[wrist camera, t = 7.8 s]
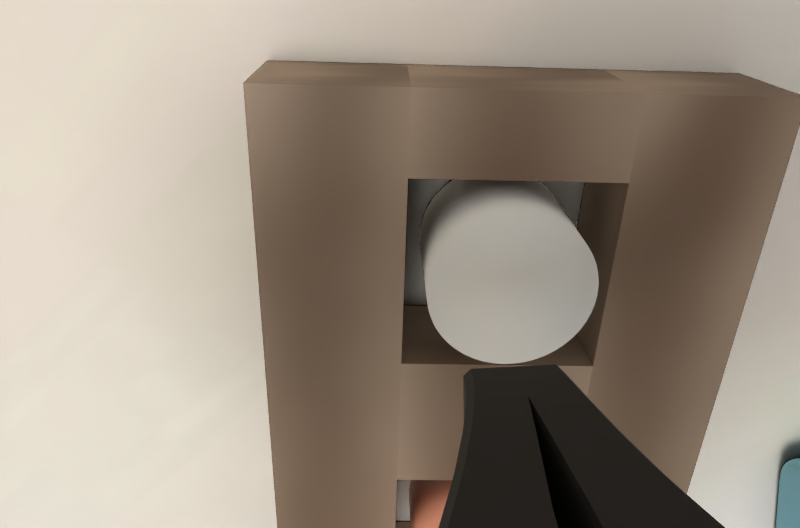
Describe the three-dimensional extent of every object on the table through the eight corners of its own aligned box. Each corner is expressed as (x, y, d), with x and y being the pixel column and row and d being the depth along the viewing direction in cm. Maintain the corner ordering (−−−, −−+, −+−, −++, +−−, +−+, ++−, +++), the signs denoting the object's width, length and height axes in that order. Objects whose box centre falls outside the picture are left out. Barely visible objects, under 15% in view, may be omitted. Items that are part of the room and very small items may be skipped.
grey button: (573, 168, 17) (612, 214, 14) (553, 299, 19) (584, 365, 16) (423, 165, 17) (431, 210, 14) (416, 297, 19) (422, 363, 16)
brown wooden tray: (738, 73, 16) (807, 97, 14) (614, 560, 24) (642, 636, 22) (267, 60, 16) (243, 82, 13) (297, 560, 24) (285, 637, 21)
